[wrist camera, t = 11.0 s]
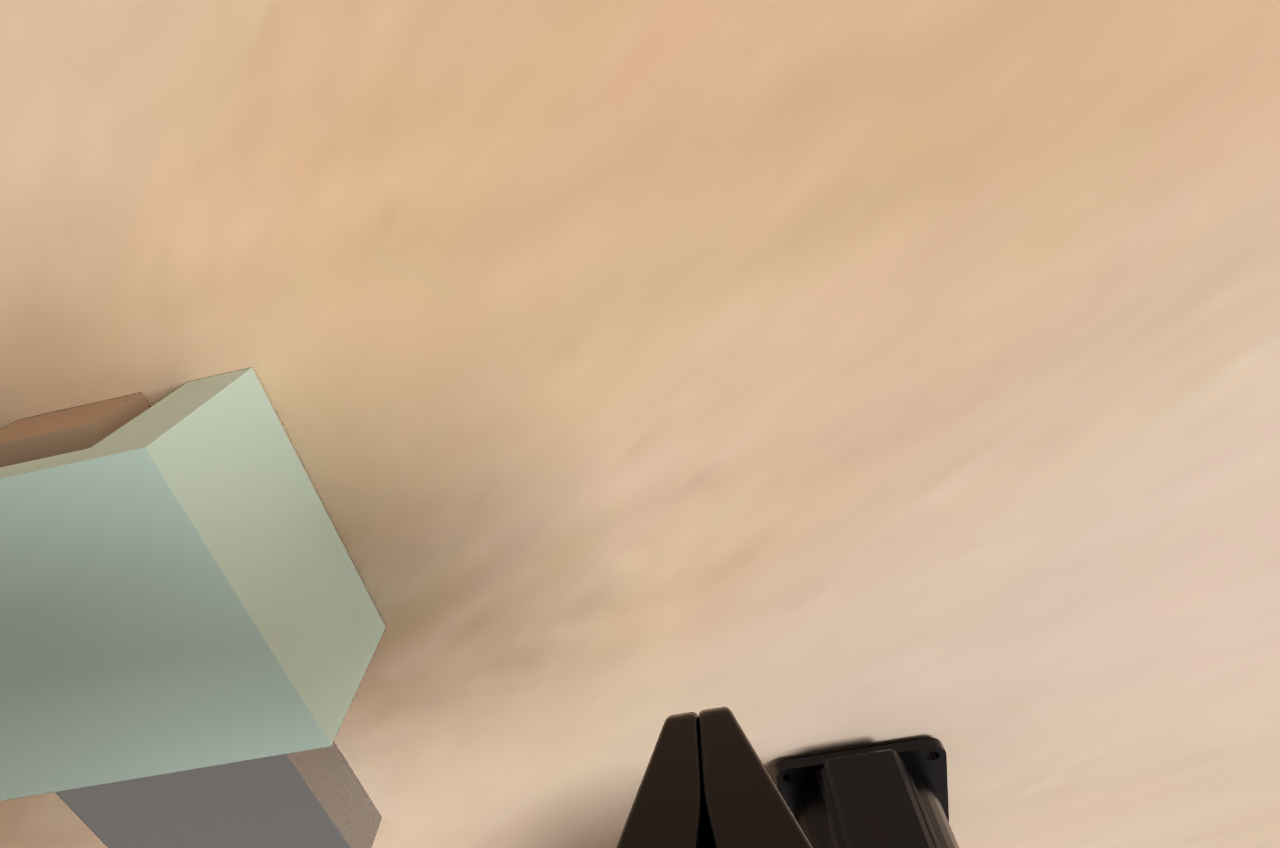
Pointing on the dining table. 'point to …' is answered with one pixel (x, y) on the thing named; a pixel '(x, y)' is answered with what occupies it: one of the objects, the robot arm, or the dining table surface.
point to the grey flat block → (235, 806)
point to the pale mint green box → (168, 592)
